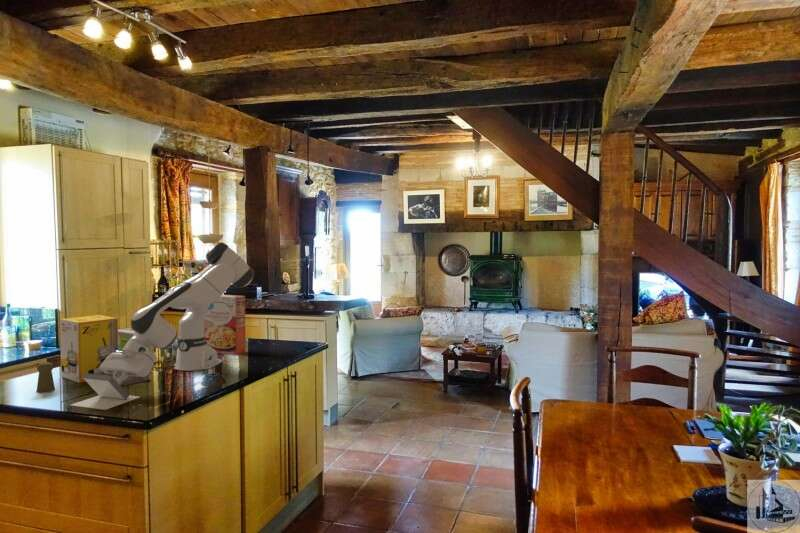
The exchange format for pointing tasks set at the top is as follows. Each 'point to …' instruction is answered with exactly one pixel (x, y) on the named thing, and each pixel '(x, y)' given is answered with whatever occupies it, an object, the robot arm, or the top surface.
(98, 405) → the beige mat
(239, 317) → the pasta box
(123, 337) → the tea box
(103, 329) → the packaging box
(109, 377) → the slate tile
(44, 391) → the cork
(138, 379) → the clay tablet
